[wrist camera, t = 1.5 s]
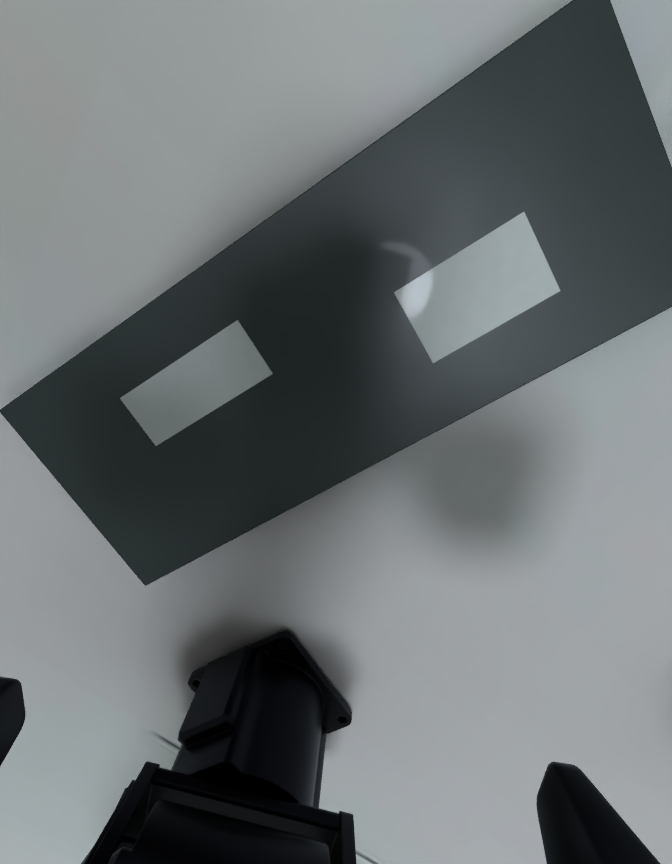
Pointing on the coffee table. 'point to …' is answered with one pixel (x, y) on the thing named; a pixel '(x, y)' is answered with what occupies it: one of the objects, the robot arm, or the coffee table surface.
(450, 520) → the coffee table surface
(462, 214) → the slate board
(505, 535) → the coffee table surface
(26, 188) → the coffee table surface
